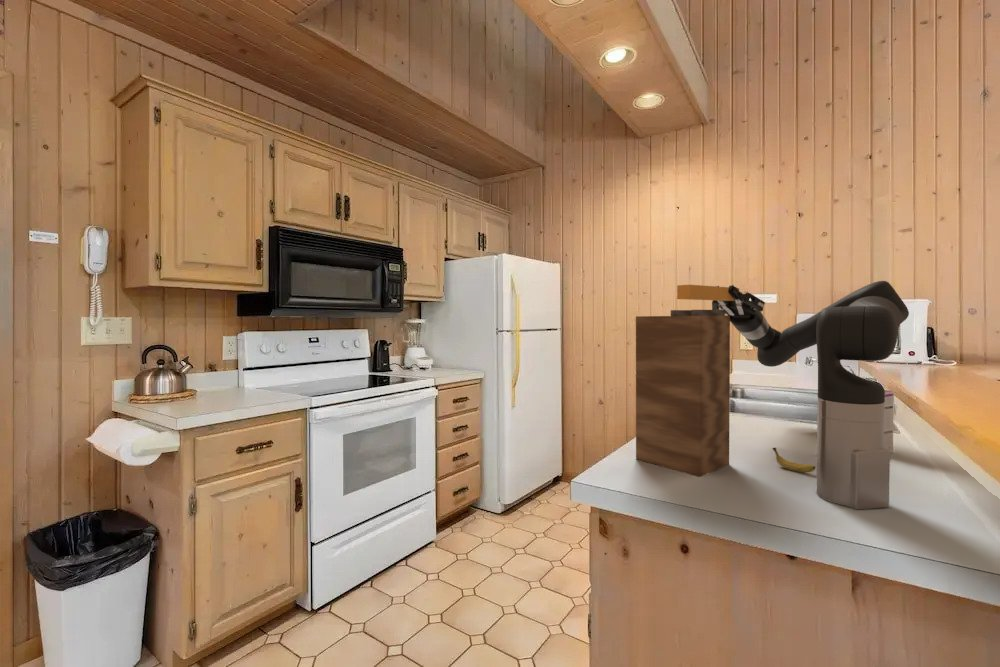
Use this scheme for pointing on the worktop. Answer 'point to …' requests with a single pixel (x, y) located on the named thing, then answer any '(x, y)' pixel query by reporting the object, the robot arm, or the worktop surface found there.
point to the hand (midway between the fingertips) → (722, 288)
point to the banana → (793, 464)
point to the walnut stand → (683, 390)
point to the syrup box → (888, 420)
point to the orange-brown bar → (703, 293)
